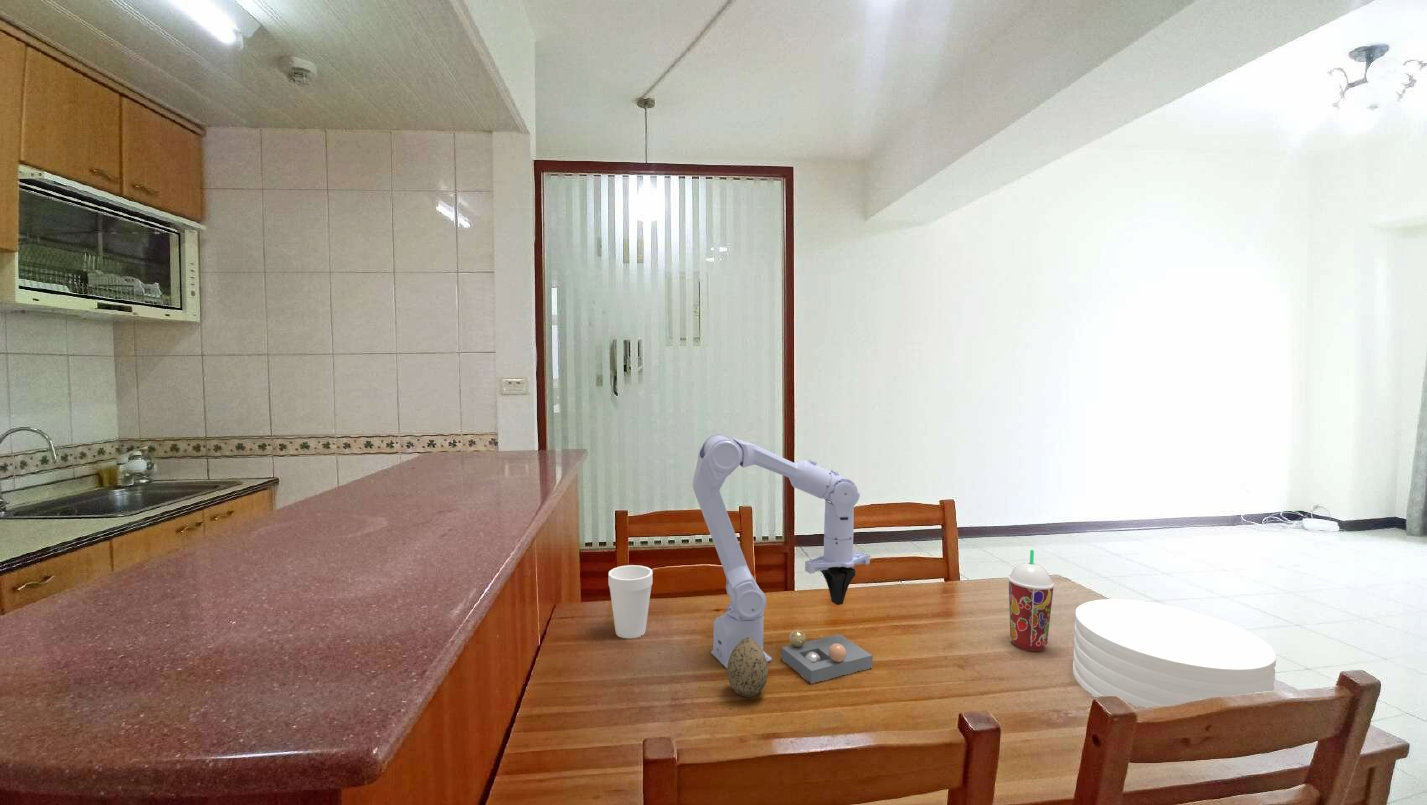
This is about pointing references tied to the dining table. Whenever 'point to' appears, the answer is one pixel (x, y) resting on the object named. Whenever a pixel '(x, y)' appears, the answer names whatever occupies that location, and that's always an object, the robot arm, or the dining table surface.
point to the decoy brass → (797, 638)
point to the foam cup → (630, 599)
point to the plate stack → (1165, 654)
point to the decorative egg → (747, 668)
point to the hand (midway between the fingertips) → (837, 603)
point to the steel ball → (813, 657)
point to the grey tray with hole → (826, 659)
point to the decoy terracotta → (837, 652)
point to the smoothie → (1030, 605)
